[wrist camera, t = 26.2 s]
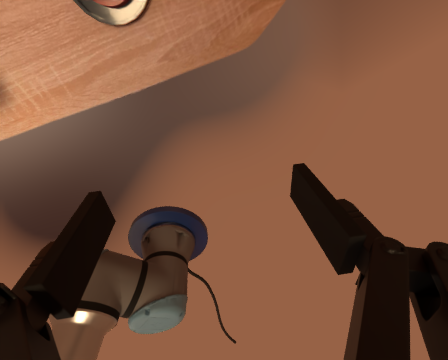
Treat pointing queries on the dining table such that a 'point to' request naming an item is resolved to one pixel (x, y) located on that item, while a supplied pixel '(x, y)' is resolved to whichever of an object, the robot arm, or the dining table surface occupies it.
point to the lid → (111, 3)
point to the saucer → (114, 11)
